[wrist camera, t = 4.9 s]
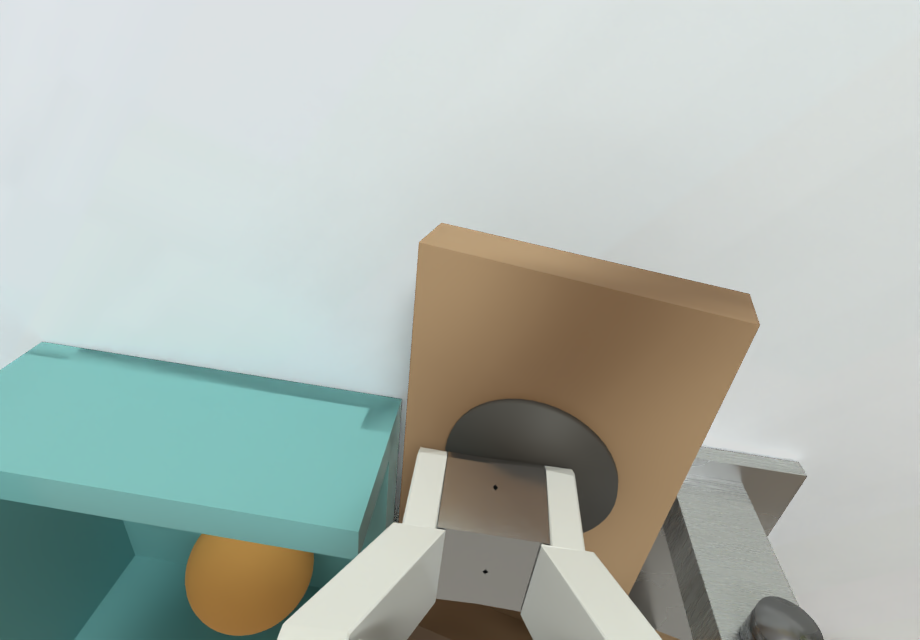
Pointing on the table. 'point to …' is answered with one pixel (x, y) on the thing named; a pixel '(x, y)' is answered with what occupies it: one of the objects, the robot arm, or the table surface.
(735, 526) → the fulcrum
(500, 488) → the robot arm
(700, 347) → the lever
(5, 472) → the teal tray
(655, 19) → the table surface
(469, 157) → the table surface
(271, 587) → the ball
